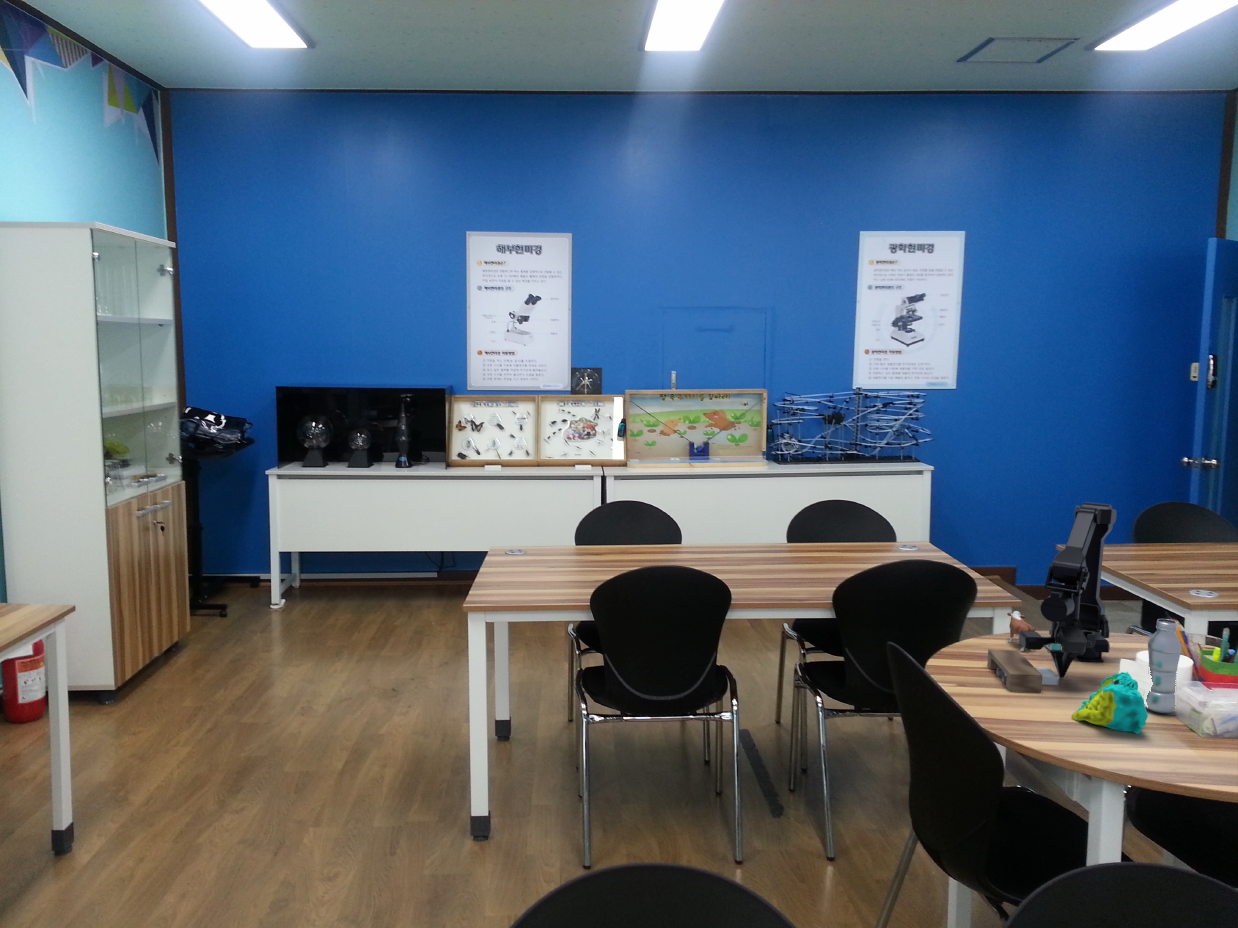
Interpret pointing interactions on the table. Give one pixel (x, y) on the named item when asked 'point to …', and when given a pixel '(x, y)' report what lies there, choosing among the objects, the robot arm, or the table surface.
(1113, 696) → the turquoise and yellow lump
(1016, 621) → the bull figurine
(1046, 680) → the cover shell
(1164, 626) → the plastic bottle
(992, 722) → the table surface
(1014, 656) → the low shelf
